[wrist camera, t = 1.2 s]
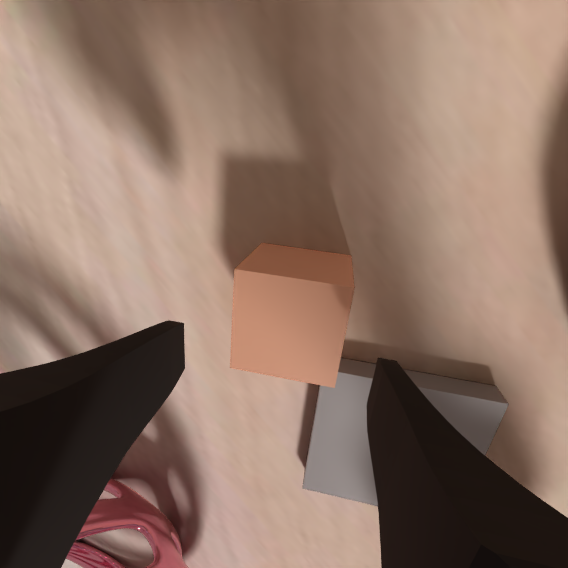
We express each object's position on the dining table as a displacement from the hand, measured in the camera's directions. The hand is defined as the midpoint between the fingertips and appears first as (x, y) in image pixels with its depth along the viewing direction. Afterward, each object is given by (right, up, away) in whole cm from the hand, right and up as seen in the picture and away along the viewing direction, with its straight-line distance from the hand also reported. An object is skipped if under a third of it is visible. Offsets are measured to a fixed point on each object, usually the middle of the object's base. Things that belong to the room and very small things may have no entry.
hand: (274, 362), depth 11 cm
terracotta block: (+1, +3, +7) cm, 8 cm away
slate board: (+7, -7, +9) cm, 14 cm away
